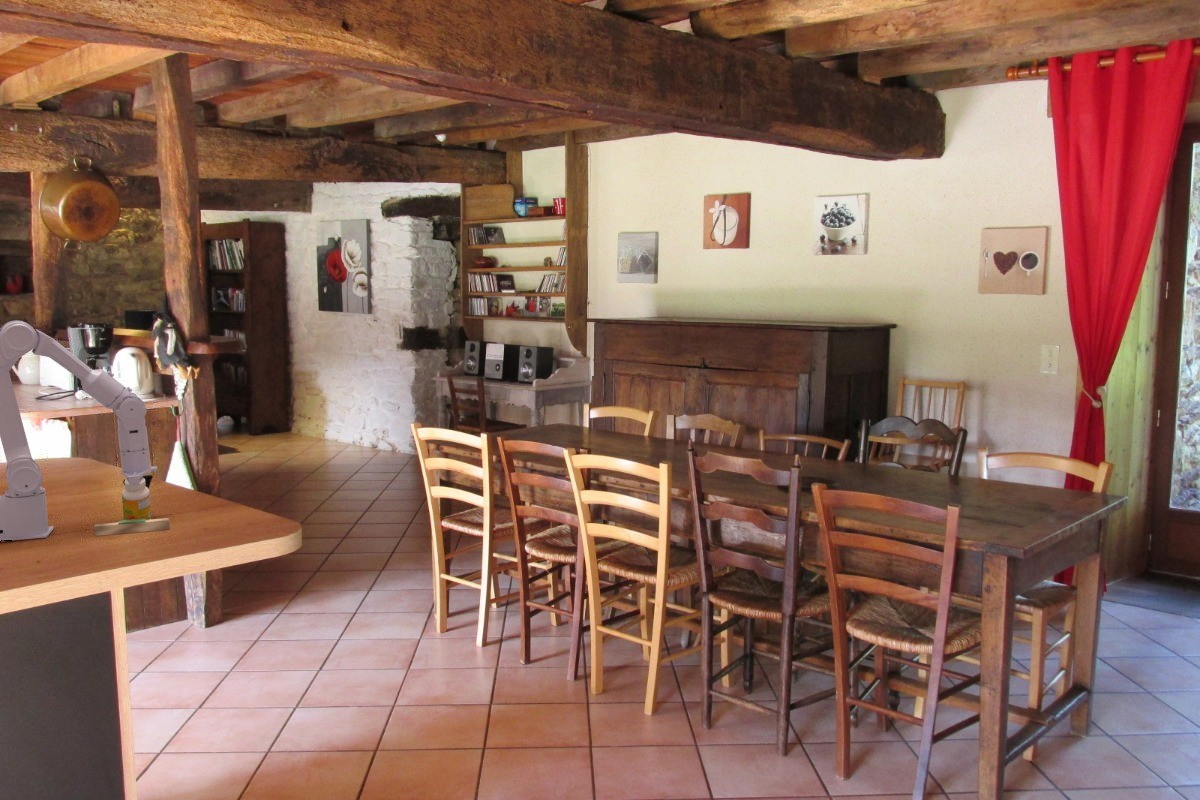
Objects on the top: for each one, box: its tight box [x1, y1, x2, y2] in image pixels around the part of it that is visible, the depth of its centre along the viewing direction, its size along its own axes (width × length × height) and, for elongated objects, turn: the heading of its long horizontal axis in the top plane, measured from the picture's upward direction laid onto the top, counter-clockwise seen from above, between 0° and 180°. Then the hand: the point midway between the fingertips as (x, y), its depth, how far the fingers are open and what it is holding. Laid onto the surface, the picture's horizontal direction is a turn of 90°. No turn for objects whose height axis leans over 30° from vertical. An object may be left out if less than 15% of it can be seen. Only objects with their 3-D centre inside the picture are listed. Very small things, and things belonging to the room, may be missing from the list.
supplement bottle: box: [121, 477, 152, 520], centre depth 209 cm, size 5×5×10 cm
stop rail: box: [93, 517, 171, 537], centre depth 204 cm, size 14×2×2 cm, turn 109°
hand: (141, 510), depth 213 cm, fingers closed, pressing on supplement bottle
